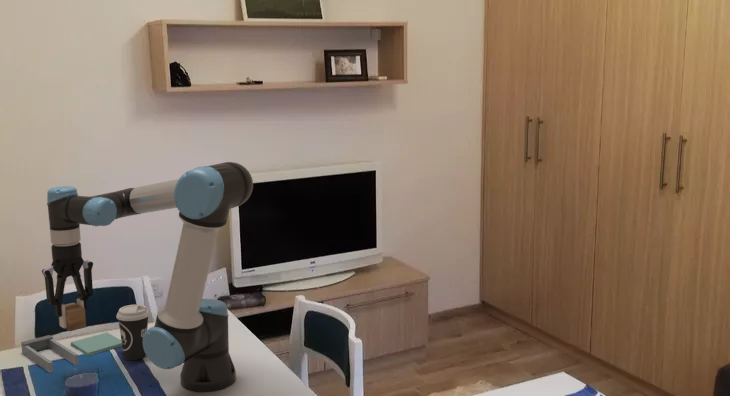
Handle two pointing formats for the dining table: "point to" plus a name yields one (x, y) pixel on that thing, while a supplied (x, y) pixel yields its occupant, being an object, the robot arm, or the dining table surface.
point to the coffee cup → (133, 330)
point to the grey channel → (41, 343)
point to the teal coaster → (97, 344)
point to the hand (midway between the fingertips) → (72, 324)
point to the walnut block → (74, 317)
